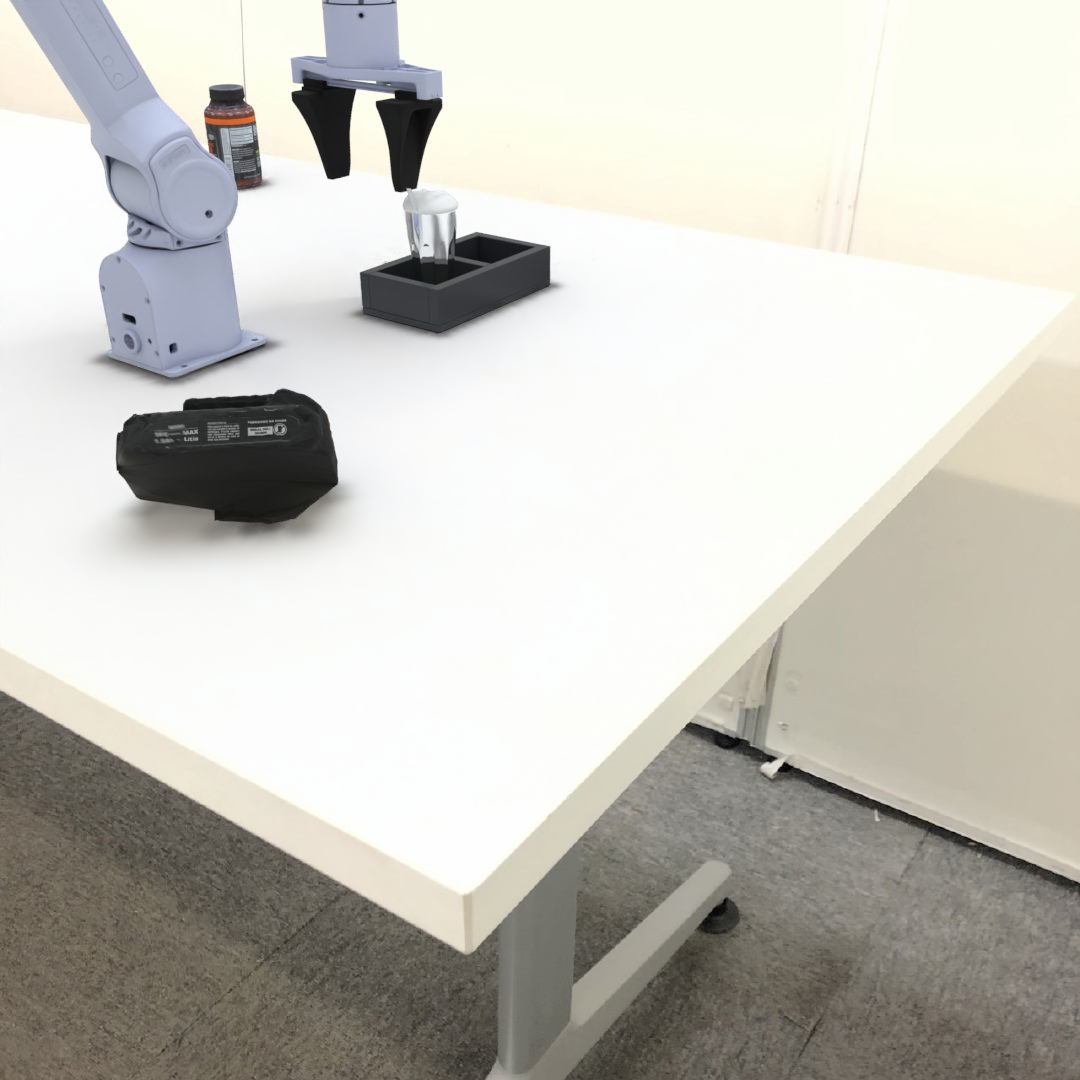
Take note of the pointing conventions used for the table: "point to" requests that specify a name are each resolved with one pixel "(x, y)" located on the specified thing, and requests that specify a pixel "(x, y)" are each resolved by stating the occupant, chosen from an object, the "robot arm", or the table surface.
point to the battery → (232, 456)
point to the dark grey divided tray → (457, 283)
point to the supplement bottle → (233, 133)
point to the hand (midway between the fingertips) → (371, 183)
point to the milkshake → (431, 234)
